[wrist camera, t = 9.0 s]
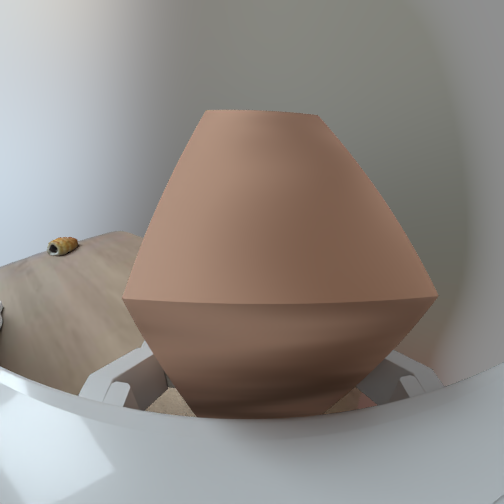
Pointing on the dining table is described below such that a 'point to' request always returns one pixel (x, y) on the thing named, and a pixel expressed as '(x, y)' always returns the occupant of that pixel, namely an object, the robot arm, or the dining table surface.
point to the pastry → (62, 246)
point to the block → (272, 270)
